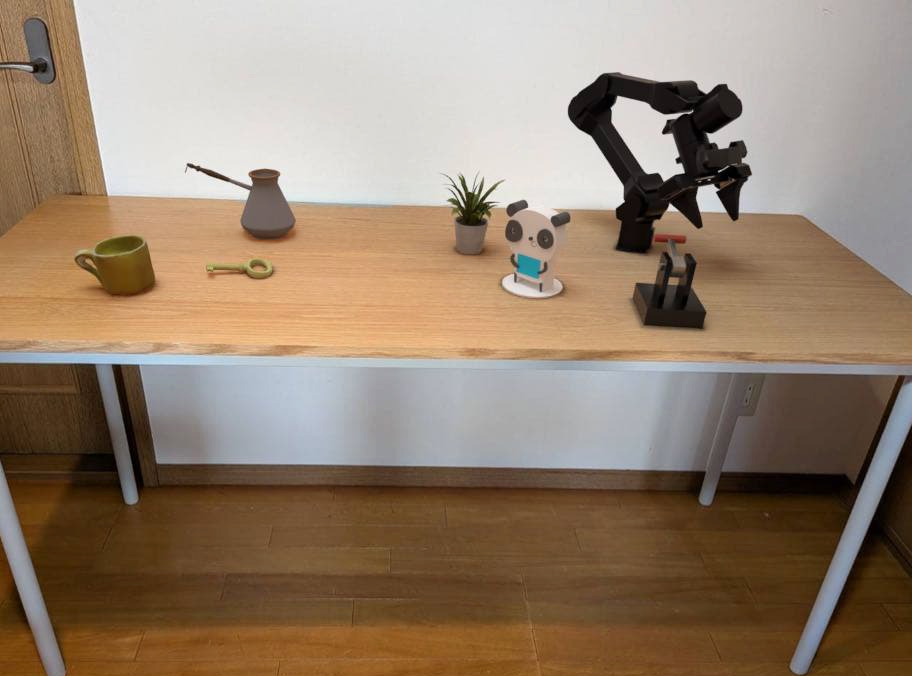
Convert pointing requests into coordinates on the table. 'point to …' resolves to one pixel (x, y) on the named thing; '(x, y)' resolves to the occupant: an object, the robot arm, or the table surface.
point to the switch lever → (673, 252)
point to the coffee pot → (261, 204)
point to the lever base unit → (670, 298)
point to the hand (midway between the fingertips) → (718, 224)
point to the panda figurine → (534, 249)
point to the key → (243, 267)
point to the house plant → (471, 216)
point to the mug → (120, 264)
